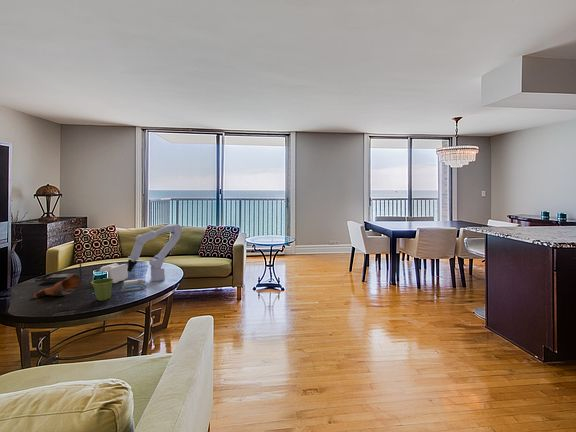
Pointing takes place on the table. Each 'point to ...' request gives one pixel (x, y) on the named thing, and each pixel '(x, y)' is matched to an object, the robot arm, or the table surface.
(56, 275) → the black wireless router
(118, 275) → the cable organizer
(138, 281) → the tall beige pillar
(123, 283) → the board
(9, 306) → the table surface
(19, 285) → the table surface
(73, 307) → the table surface
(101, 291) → the plant pot
